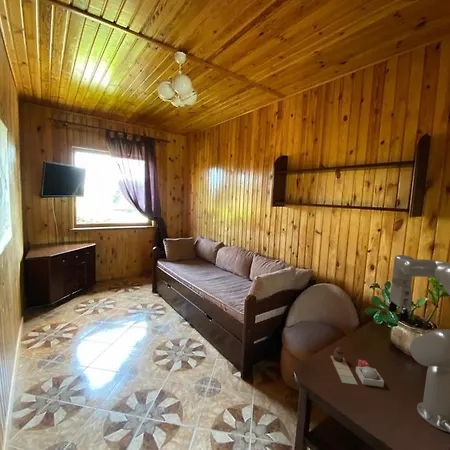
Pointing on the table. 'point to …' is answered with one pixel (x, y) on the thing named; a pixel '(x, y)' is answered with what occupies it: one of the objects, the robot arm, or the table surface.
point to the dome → (369, 373)
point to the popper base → (367, 381)
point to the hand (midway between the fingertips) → (397, 316)
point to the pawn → (338, 354)
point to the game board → (344, 372)
